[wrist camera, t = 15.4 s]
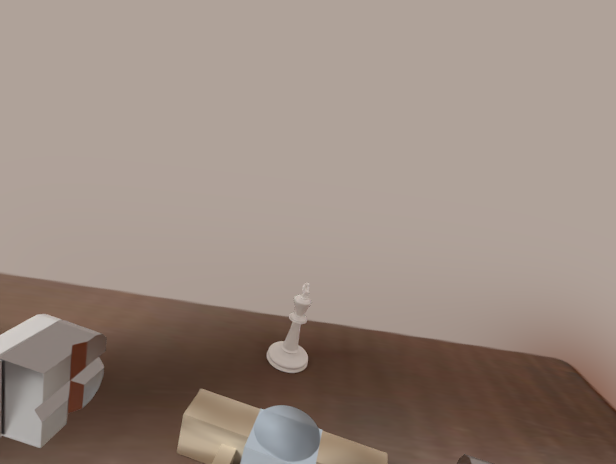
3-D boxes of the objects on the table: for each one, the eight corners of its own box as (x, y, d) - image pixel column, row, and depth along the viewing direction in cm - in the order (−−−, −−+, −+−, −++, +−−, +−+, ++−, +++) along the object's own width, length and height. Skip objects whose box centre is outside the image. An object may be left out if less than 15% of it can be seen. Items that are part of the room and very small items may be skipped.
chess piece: (267, 371, 42) (288, 291, 39) (265, 343, 47) (283, 270, 44) (310, 375, 44) (333, 298, 40) (304, 347, 48) (324, 276, 45)
